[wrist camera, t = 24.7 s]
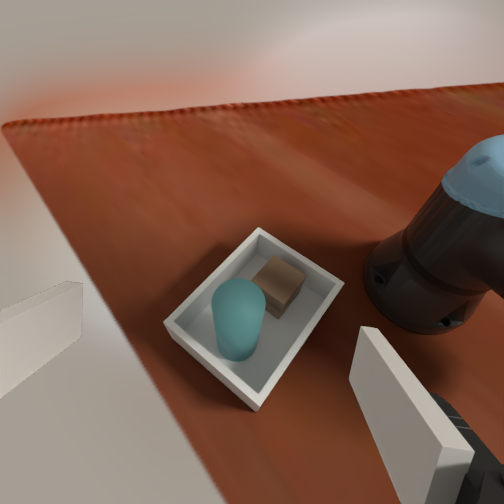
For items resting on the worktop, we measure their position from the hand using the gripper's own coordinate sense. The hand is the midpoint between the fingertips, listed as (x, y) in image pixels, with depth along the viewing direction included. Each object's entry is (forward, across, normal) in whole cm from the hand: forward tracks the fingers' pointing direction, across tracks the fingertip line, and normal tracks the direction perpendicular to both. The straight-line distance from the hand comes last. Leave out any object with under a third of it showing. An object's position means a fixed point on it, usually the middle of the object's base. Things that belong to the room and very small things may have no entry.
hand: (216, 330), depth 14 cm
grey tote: (+25, +2, -10) cm, 27 cm away
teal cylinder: (+22, 0, -12) cm, 25 cm away
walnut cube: (+27, +4, -7) cm, 28 cm away
